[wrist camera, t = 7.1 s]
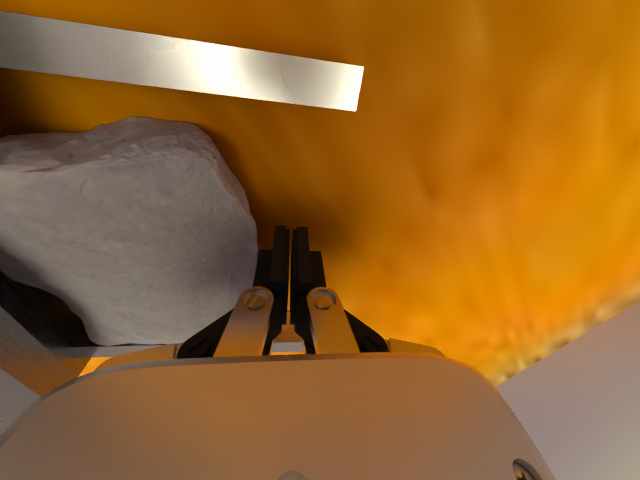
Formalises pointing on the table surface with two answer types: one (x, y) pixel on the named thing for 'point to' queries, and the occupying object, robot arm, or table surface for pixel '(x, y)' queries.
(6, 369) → the steel lip bracket
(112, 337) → the stone block
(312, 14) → the table surface
